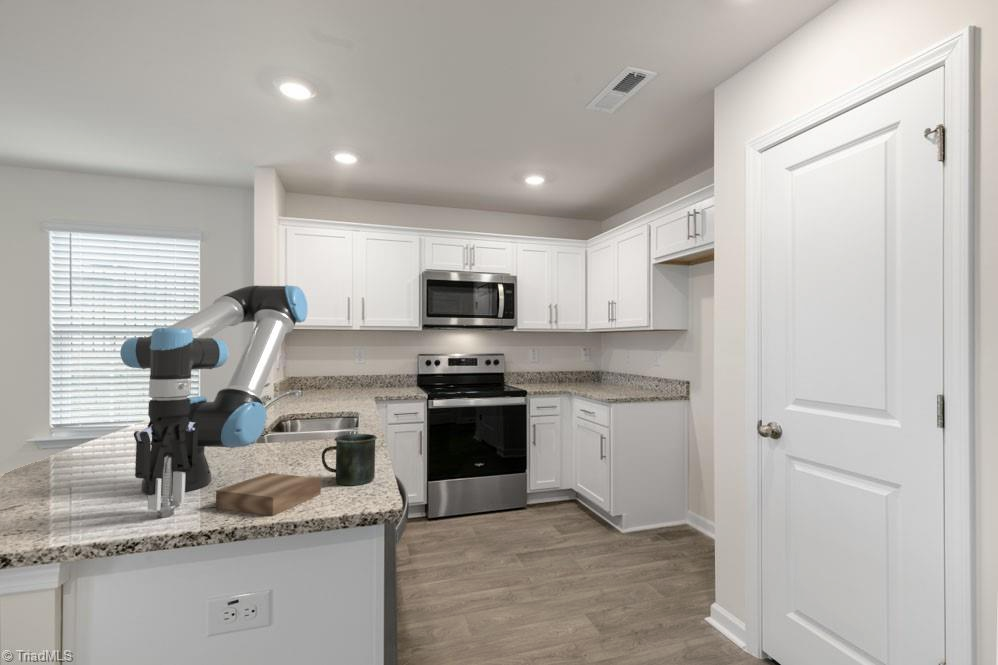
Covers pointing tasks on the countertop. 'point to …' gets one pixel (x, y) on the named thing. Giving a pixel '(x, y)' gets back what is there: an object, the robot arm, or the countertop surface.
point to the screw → (167, 490)
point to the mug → (353, 459)
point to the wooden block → (268, 493)
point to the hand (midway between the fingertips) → (166, 505)
